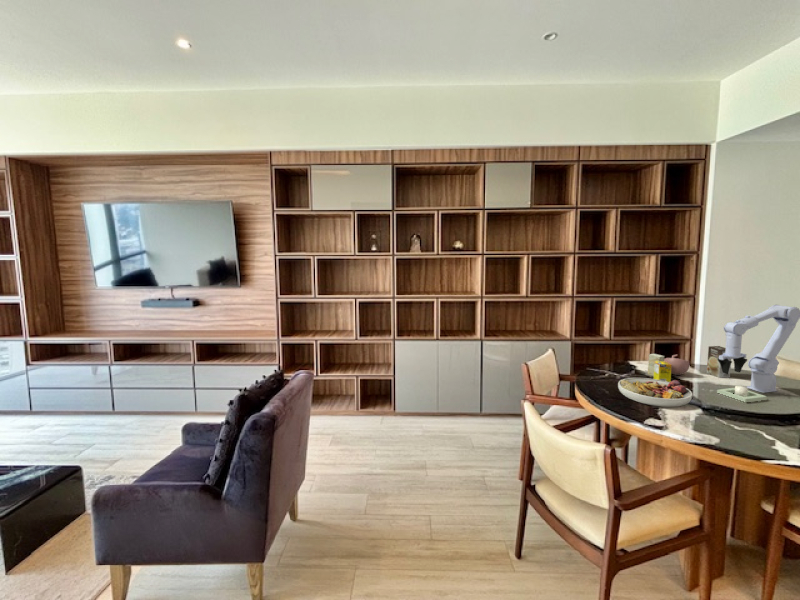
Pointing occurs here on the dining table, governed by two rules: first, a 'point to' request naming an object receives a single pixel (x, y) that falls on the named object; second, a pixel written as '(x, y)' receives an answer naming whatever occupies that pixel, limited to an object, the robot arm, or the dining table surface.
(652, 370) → the skincare box
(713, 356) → the coffee box
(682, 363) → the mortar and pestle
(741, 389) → the white egg shape
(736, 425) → the dining table surface
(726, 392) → the holder
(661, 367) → the supplement box
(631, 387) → the bowl
